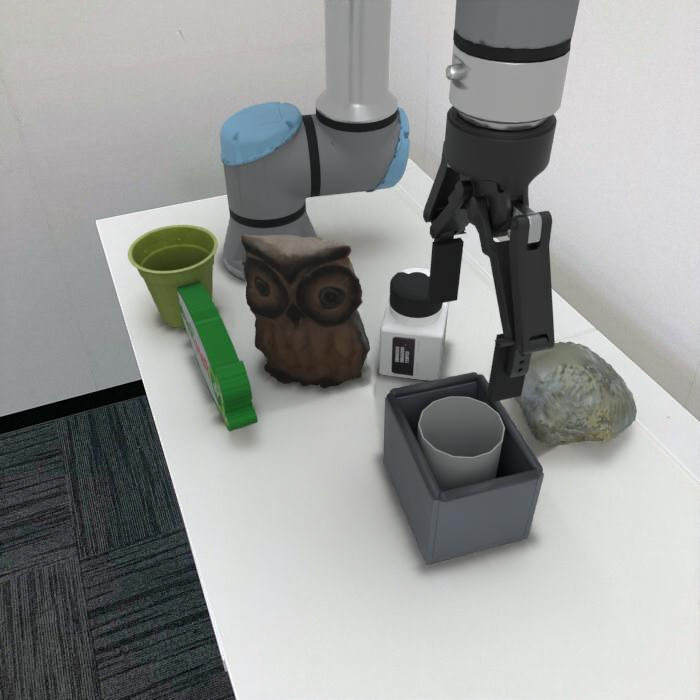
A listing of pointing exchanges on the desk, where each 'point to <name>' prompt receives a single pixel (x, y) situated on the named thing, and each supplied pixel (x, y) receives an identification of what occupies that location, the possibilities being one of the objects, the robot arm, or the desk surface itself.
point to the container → (412, 328)
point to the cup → (460, 441)
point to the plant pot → (174, 264)
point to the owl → (305, 309)
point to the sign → (217, 357)
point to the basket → (467, 501)
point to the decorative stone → (574, 397)
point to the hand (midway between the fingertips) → (470, 344)
